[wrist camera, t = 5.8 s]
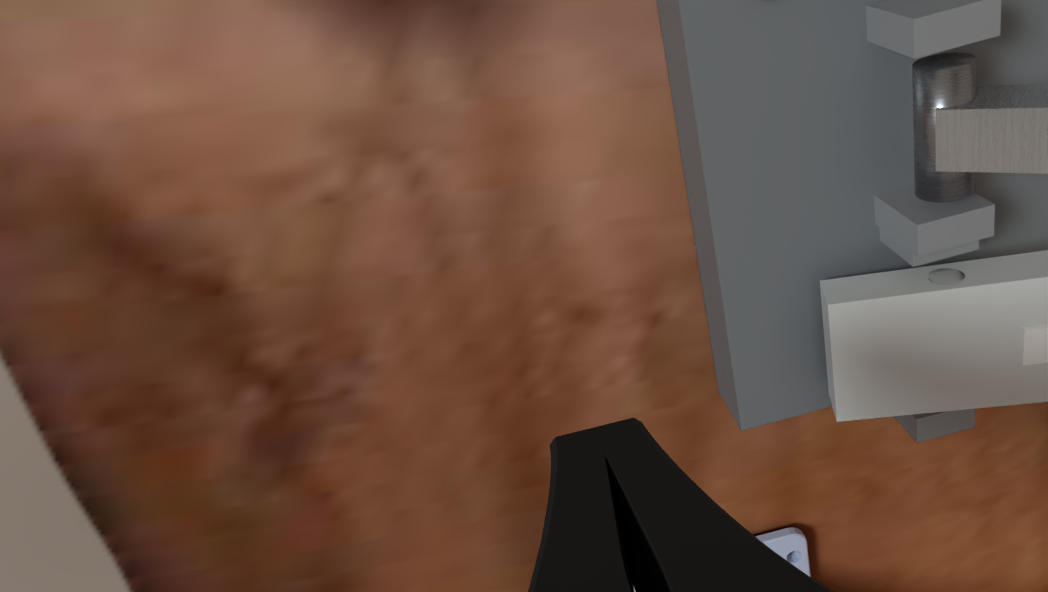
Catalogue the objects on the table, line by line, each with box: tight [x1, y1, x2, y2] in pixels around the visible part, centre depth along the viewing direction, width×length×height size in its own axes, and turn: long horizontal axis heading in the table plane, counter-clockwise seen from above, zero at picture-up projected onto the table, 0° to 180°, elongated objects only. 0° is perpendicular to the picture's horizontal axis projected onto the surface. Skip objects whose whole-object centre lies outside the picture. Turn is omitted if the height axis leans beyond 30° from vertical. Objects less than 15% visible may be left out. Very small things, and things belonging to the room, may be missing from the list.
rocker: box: [820, 250, 1048, 422], centre depth 21 cm, size 4×6×1 cm, turn 104°
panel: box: [657, 0, 1048, 443], centre depth 20 cm, size 17×10×4 cm, turn 14°
